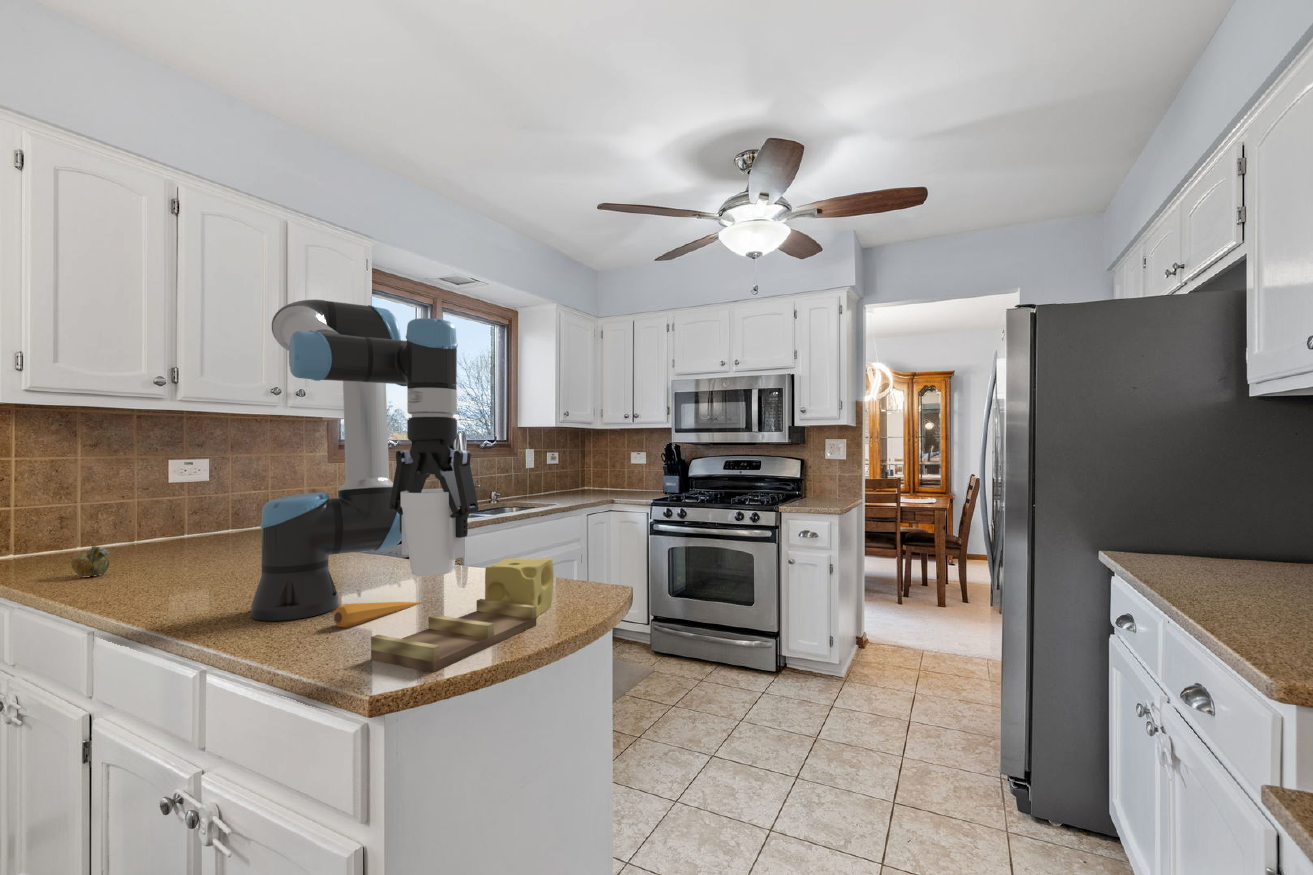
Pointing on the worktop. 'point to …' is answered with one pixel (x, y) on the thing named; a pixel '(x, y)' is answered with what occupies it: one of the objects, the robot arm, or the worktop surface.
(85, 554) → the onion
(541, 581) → the cheese
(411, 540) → the foam cup
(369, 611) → the carrot
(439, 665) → the rack
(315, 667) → the worktop surface
